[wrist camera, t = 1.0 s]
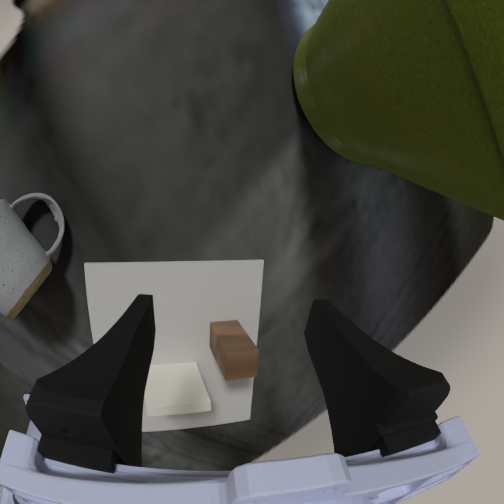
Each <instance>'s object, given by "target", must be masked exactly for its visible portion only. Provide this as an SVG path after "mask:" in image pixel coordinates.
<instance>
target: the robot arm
mask: <svg viewBox="0 0 504 504" xmlns="http://www.w3.org/2000/svg"><path fill="white" fill-rule="evenodd" d="M155 333H156V327H155V317H154V305H153V295H148V294H139V295H137V297H136V298H135V299H134V301H133V302H132V303H131V305H130V306H129V307H128V308H127V310H126V311H125V312H124V313H123V315H122V316H121V317H120V318H119V319H118V321H117V322H116V323H115V324H114V325H113V326H112V327H111V328H110V329H109V330H108V331H107V332H106V334H105V335H104V336H103V337H102V338H100V339H99V340H98V341H97V342H96V343H95V344H94V345H93V346H92V347H90V348H89V349H88V350H87V351H85V352H84V353H83V354H81V355H80V356H79V357H77V358H76V359H74V360H73V361H71V362H70V363H68V364H66V365H65V366H63V367H61V368H59V369H58V370H56V371H54V372H52V373H50V374H47V375H45V376H43V377H41V378H39V379H37V380H36V382H35V384H34V386H33V388H32V391H31V393H30V394H24V396H23V398H24V401H25V403H26V407H25V409H26V413H27V415H28V416H29V418H30V423H29V427H28V430H27V434H26V435H25V434H22V433H19V432H16V431H13V430H9V433H8V436H7V439H6V442H5V446H4V449H3V452H2V456H1V459H0V485H1V490H0V504H396V503H398V502H401V501H403V500H405V499H408V498H410V497H412V496H414V495H416V494H418V493H421V492H423V491H425V490H427V489H429V488H431V487H433V486H435V485H437V484H439V483H441V482H443V481H445V480H447V479H449V478H451V477H452V476H453V475H455V474H456V473H457V472H459V471H460V470H461V469H463V468H464V467H465V466H466V465H468V464H469V463H470V462H471V461H472V460H474V459H475V458H476V457H477V456H478V455H479V454H480V452H479V450H478V449H477V447H476V445H475V443H474V441H473V439H472V438H471V436H470V434H469V432H468V430H467V429H466V427H465V425H464V423H463V422H462V420H461V418H460V416H456V417H453V418H451V419H448V420H446V421H444V422H441V423H440V424H439V425H437V424H436V422H435V420H436V419H437V417H438V416H437V414H436V413H435V411H436V410H437V409H438V407H439V406H440V405H441V404H442V402H443V401H444V400H445V398H446V397H447V396H448V394H449V391H450V385H449V383H448V382H447V381H446V379H445V377H444V376H443V374H442V373H441V372H438V371H435V370H432V369H429V368H426V367H423V366H420V365H418V364H416V363H413V362H411V361H409V360H407V359H405V358H403V357H401V356H399V355H397V354H395V353H393V352H392V351H390V350H388V349H387V348H385V347H384V346H382V345H381V344H379V343H378V342H376V341H375V340H373V339H372V338H371V337H369V336H368V335H367V334H365V333H364V332H363V331H362V330H360V329H359V328H358V327H357V326H356V325H354V324H353V323H352V322H351V321H350V320H349V319H348V318H346V317H345V316H344V315H343V314H342V313H341V312H340V311H339V310H338V309H337V308H335V307H334V306H333V305H332V304H331V303H330V302H328V301H327V300H314V301H313V305H312V308H311V312H310V315H309V318H308V322H307V325H306V329H305V332H304V333H305V338H306V343H307V348H308V352H309V355H310V357H311V360H312V363H313V366H314V368H315V371H316V374H317V376H318V379H319V382H320V384H321V387H322V390H323V393H324V397H325V401H326V405H327V409H328V414H329V419H330V424H331V430H332V437H333V443H334V451H335V453H326V454H319V455H312V456H306V457H298V458H290V459H281V460H270V461H260V462H253V463H247V464H244V465H241V466H238V467H236V468H235V469H234V470H232V471H185V470H167V469H154V468H144V467H142V456H141V448H142V417H143V403H144V394H145V388H146V383H147V378H148V374H149V369H150V364H151V360H152V355H153V351H154V342H155ZM27 400H28V401H27Z"/></svg>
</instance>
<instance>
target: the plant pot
mask: <svg viewBox="0 0 504 504" xmlns="http://www.w3.org/2000/svg"><path fill="white" fill-rule="evenodd" d="M293 76H294V84H295V89H296V93H297V97H298V100H299V103H300V105H301V108H302V110H303V112H304V114H305V116H306V118H307V120H308V121H309V123H310V125H311V126H312V128H313V129H314V131H315V132H316V133H317V134H318V136H319V137H320V138H321V139H322V140H323V141H324V142H325V144H326V145H328V146H329V147H330V148H331V149H332V150H333V151H335V152H336V153H337V154H339V155H340V156H342V157H344V158H346V159H347V160H349V161H352V162H354V163H357V164H361V165H365V166H376V167H378V168H381V169H383V170H385V171H387V172H390V173H392V174H394V175H396V176H399V177H401V178H403V179H406V180H408V181H410V182H413V183H415V184H417V185H420V186H422V187H424V188H427V189H429V190H432V191H434V192H436V193H439V194H441V195H444V196H446V197H448V198H451V199H453V200H456V201H458V202H460V203H463V204H465V205H467V206H470V207H472V208H475V209H477V210H480V211H482V212H484V213H487V214H489V215H492V216H494V217H497V218H499V219H502V220H504V0H329V1H328V3H327V4H326V6H325V8H324V9H323V11H322V13H321V15H320V16H319V18H318V20H317V22H316V24H314V25H313V26H312V27H311V28H310V29H309V30H308V31H307V32H306V33H305V34H304V35H303V37H302V38H301V40H300V42H299V44H298V46H297V49H296V52H295V57H294V63H293Z"/></svg>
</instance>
